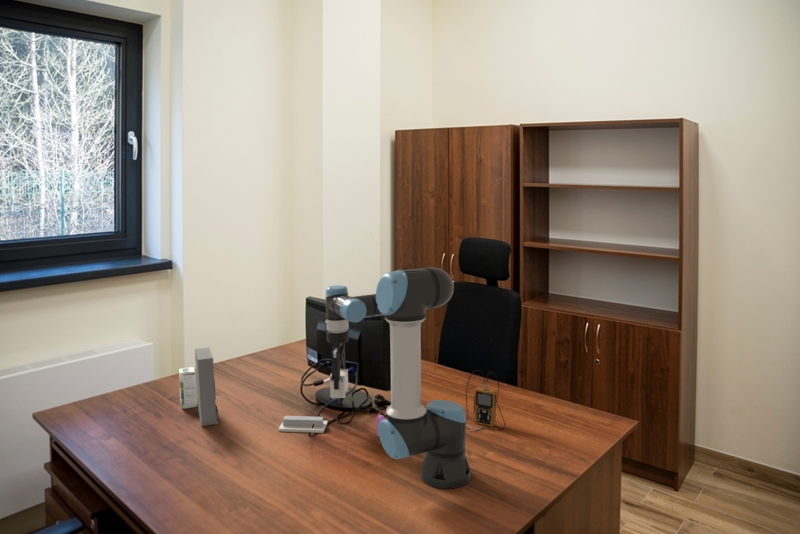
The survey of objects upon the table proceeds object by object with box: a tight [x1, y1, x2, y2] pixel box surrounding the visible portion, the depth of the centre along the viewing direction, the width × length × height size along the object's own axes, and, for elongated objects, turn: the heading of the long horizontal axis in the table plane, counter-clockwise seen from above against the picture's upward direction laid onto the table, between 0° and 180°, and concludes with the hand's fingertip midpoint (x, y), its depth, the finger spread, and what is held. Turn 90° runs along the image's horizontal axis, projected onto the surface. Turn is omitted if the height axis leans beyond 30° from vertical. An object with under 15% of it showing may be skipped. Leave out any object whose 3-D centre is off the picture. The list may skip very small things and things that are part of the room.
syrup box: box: [178, 366, 198, 410], centre depth 252 cm, size 6×6×14 cm
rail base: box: [277, 415, 328, 434], centre depth 233 cm, size 16×8×4 cm, turn 86°
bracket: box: [376, 414, 385, 437], centre depth 231 cm, size 13×6×7 cm, turn 161°
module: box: [329, 368, 349, 399], centre depth 229 cm, size 5×8×8 cm, turn 176°
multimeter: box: [465, 369, 506, 432], centre depth 230 cm, size 15×10×20 cm
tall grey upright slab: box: [194, 347, 219, 427], centre depth 239 cm, size 14×6×25 cm, turn 22°
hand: (339, 393), depth 229 cm, fingers closed on module, 8 cm apart
